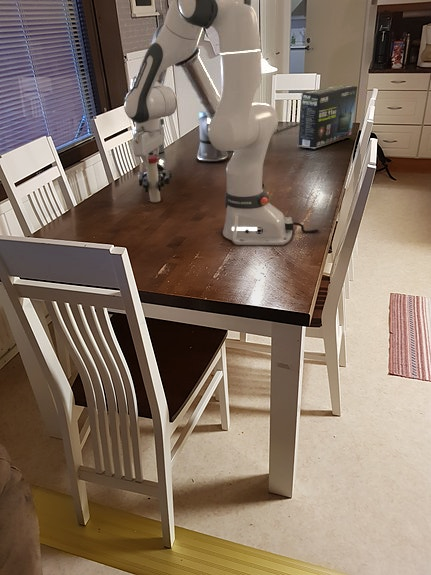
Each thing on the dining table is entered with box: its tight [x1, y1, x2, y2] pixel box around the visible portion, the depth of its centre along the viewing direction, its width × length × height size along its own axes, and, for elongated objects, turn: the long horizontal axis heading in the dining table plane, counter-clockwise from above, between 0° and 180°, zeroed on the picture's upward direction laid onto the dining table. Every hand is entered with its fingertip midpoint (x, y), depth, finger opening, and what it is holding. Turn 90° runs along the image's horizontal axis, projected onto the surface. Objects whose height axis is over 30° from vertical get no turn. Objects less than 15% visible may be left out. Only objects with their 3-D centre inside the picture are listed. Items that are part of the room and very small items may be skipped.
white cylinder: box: [145, 162, 162, 203], centre depth 175 cm, size 4×4×16 cm
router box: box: [297, 84, 358, 151], centre depth 238 cm, size 36×11×27 cm, turn 134°
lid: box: [147, 155, 158, 164], centre depth 171 cm, size 5×5×2 cm
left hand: (152, 188), depth 171 cm, fingers closed on white cylinder, 4 cm apart
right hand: (151, 162), depth 171 cm, fingers open, 7 cm apart
